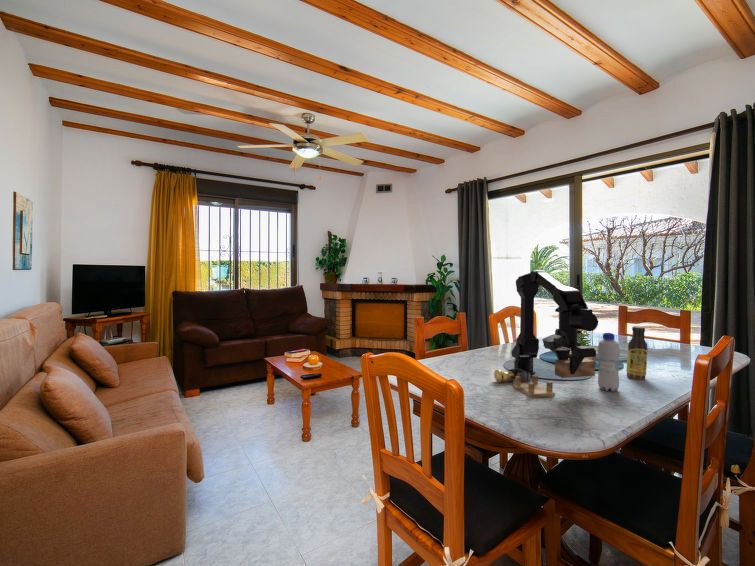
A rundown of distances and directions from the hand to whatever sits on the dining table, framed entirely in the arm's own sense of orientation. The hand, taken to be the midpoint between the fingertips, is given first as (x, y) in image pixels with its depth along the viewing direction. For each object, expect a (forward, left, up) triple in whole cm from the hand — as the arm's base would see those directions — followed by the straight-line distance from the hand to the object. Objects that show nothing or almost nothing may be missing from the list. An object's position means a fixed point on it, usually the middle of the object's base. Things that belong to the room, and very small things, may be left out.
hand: (567, 372), depth 124 cm
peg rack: (+9, -5, -7) cm, 13 cm away
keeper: (+7, -17, -7) cm, 20 cm away
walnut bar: (-3, 0, -1) cm, 3 cm away
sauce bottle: (-38, -10, -8) cm, 40 cm away
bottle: (-17, -1, -8) cm, 19 cm away
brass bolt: (+13, -17, -7) cm, 23 cm away
